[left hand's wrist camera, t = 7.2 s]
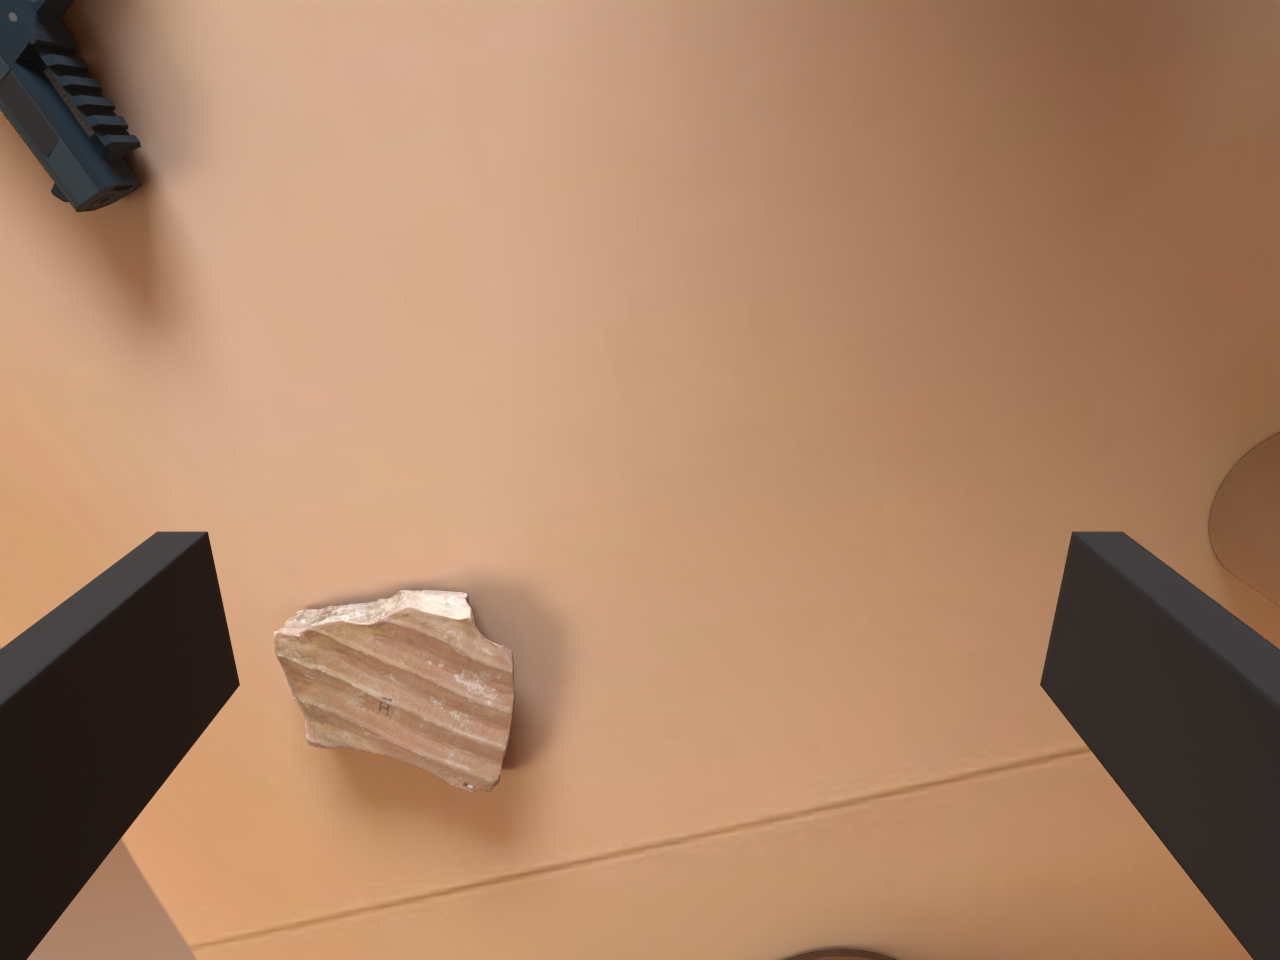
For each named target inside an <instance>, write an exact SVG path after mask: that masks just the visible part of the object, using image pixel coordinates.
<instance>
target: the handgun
mask: <svg viewBox="0 0 1280 960" xmlns="http://www.w3.org/2000/svg"><path fill="white" fill-rule="evenodd" d="M73 1H74V0H0V110H1V111H2V112H3V114H4V115H5V116H6V118H7V119H8V120H9V122H10V123H11V124H12V126H13V127H14V128H15V130H16V131H17V132H18V134H19V135H20V136H21V138H22V139H23V141H24V142H25V143H26V145H27V146H28V147H29V149H30V150H31V151H32V153H33V154H34V155H35V157H36V158H37V159H38V161H39V162H40V163H41V165H42V166H43V167H44V169H45V170H46V171H47V173H48V174H49V175H50V177H51V178H52V179H53V181H54V182H55V184H54V186H53V188H52V190H51V192H52V194H53V195H54V196H56V197H57V198H59V199H60V200H62V201H64V202H70V204H71V205H72V206H73V208H74V209H75V210H76V212H83V211H93V210H96V209H99V208H102V207H105V206H107V205H110V204H112V203H114V202H116V201H117V200H119V199H121V198H122V197H124V196H126V195H127V194H129V193H131V192H132V191H134V190H135V189H137V188H139V187H140V186H142V184H141V183H140V182H139V180H138V179H137V178H136V176H135V175H134V173H133V172H132V171H131V169H130V168H129V166H128V165H127V164H126V162H125V161H124V159H123V157H124V156H125V155H126V153H127V152H128V151H130V150H133V149H136V148H139V147H141V146H140V142H139V140H138V139H137V137H136V136H130V135H129V133H128V132H127V130H126V129H128V124H127V123H126V122H125V120H124V119H123V117H117V116H116V115H115V113H114V112H113V110H115V106H114V104H113V103H112V102H111V100H110V99H109V98H103V96H102V95H101V93H100V92H99V91H102V87H101V86H100V84H99V83H98V81H97V80H96V79H90V78H89V76H88V75H87V72H88V69H89V68H88V67H87V66H86V64H85V63H84V61H83V60H82V59H77V58H76V57H75V56H74V55H73V52H76V51H77V50H78V49H77V46H76V44H75V42H74V41H73V39H72V38H71V36H70V35H69V33H68V31H67V30H66V28H65V27H64V25H63V24H62V22H61V21H60V19H59V18H60V17H61V16H62V15H63V13H64V12H65V11H66V10H67V8H68V7H69V6H70V5H71V4H72V2H73Z"/></svg>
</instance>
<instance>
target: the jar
mask: <svg viewBox="0 0 1280 960" xmlns="http://www.w3.org/2000/svg"><path fill="white" fill-rule="evenodd" d="M1209 535H1210V541H1211V545H1212V548H1213V551H1214V553H1215V555H1216V557H1217V559H1218V560H1219V561H1220V563H1221V564H1222V565H1223V566H1224V567H1225V568H1226V569H1227V570H1228V571H1229V572H1230V573H1231V574H1233V575H1234V576H1236V577H1237V578H1239V579H1240V580H1242V581H1243V582H1244V583H1246V584H1247V585H1249V586H1250V587H1252V588H1253V589H1255V590H1256V591H1258V592H1259V593H1261V594H1262V595H1263V596H1265V597H1266V598H1268V599H1269V600H1271V601H1272V602H1274V603H1275V604H1277V605H1278V606H1280V433H1278V434H1276V435H1274V436H1272V437H1270V438H1268V439H1267V440H1265V441H1263V442H1262V443H1260V444H1259V445H1258V446H1256V447H1255V448H1253V449H1252V450H1251V451H1250V452H1249V453H1247V454H1246V455H1245V456H1244V457H1243V458H1242V459H1241V460H1240V461H1239V462H1238V463H1237V464H1236V465H1235V466H1234V467H1233V469H1232V470H1231V471H1230V473H1229V474H1228V475H1227V476H1226V478H1225V480H1224V481H1223V483H1222V484H1221V486H1220V488H1219V490H1218V492H1217V494H1216V496H1215V499H1214V502H1213V505H1212V508H1211V513H1210V519H1209Z"/></svg>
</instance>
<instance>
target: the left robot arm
mask: <svg viewBox="0 0 1280 960" xmlns="http://www.w3.org/2000/svg"><path fill="white" fill-rule="evenodd" d="M239 685H240V684H239V679H238V674H237V669H236V664H235V660H234V655H233V650H232V645H231V641H230V636H229V631H228V626H227V622H226V617H225V612H224V607H223V602H222V598H221V593H220V588H219V583H218V579H217V574H216V569H215V564H214V559H213V555H212V550H211V545H210V540H209V536H208V532H156V533H155V534H154V535H152V536H151V537H150V538H148V539H147V540H146V541H144V542H143V543H142V544H140V545H139V546H138V547H136V548H135V549H134V550H132V551H131V552H130V553H128V554H127V555H126V556H124V557H123V558H122V559H120V560H119V561H118V562H116V563H115V564H114V565H112V566H111V567H110V568H108V569H107V570H106V571H104V572H103V573H102V574H100V575H99V576H98V577H96V578H95V579H94V580H92V581H91V582H90V583H88V584H87V585H86V586H84V587H83V588H82V589H80V590H79V591H78V592H76V593H75V594H74V595H72V596H71V597H70V598H68V599H67V600H66V601H64V602H63V603H62V604H60V605H59V606H58V607H56V608H55V609H54V610H52V611H51V612H50V613H48V614H47V615H46V616H44V617H43V618H42V619H40V620H39V621H38V622H36V623H35V624H34V625H32V626H31V627H30V628H28V629H27V630H26V631H24V632H23V633H22V634H20V635H19V636H18V637H16V638H15V639H14V640H12V641H11V642H10V643H8V644H7V645H6V646H4V647H3V648H2V649H0V960H27V958H28V957H29V956H30V954H31V953H32V952H33V951H34V949H35V948H36V947H37V945H38V944H39V943H40V942H41V940H42V939H43V938H44V936H45V935H46V934H47V933H48V931H49V930H50V929H51V927H52V926H53V925H54V924H55V922H56V921H57V920H58V918H59V917H60V916H61V915H62V913H63V912H64V911H65V909H66V908H67V907H68V906H69V904H70V903H71V902H72V900H73V899H74V898H75V897H76V895H77V894H78V893H79V891H80V890H81V889H82V888H83V886H84V885H85V884H86V882H87V881H88V880H89V878H90V877H91V876H92V875H93V873H94V872H95V871H96V869H97V868H98V867H99V866H100V864H101V863H102V862H103V860H104V859H105V858H106V857H107V855H108V854H109V853H110V851H111V850H112V849H113V848H114V846H115V845H116V844H117V842H118V841H119V840H120V839H121V837H122V836H123V835H124V833H125V832H126V831H127V830H128V828H129V827H130V826H131V824H132V823H133V822H134V821H135V819H136V818H137V817H138V815H139V814H140V813H141V812H142V810H143V809H144V808H145V806H146V805H147V804H148V803H149V801H150V800H151V799H152V797H153V796H154V795H155V793H156V792H157V791H158V790H159V788H160V787H161V786H162V784H163V783H164V782H165V781H166V779H167V778H168V777H169V775H170V774H171V773H172V772H173V770H174V769H175V768H176V766H177V765H178V764H179V763H180V761H181V760H182V759H183V757H184V756H185V755H186V754H187V752H188V751H189V750H190V748H191V747H192V746H193V745H194V743H195V742H196V741H197V739H198V738H199V737H200V736H201V734H202V733H203V732H204V730H205V729H206V728H207V727H208V725H209V724H210V723H211V721H212V720H213V719H214V717H215V716H216V715H217V714H218V712H219V711H220V710H221V708H222V707H223V706H224V705H225V703H226V702H227V701H228V699H229V698H230V697H231V696H232V694H233V693H234V692H235V690H236V689H237V688H238V687H239ZM1040 685H1041V687H1042V688H1043V689H1044V690H1045V692H1046V693H1047V694H1048V696H1049V697H1050V698H1051V699H1052V701H1053V702H1054V703H1055V705H1056V706H1057V707H1058V708H1059V710H1060V711H1061V712H1062V714H1063V715H1064V716H1065V717H1066V719H1067V720H1068V721H1069V723H1070V724H1071V725H1072V727H1073V728H1074V729H1075V730H1076V732H1077V733H1078V734H1079V736H1080V737H1081V738H1082V739H1083V741H1084V742H1085V743H1086V745H1087V746H1088V747H1089V748H1090V750H1091V751H1092V752H1093V754H1094V755H1095V756H1096V757H1097V759H1098V760H1099V761H1100V763H1101V764H1102V765H1103V766H1104V768H1105V769H1106V770H1107V772H1108V773H1109V774H1110V775H1111V777H1112V778H1113V779H1114V781H1115V782H1116V783H1117V784H1118V786H1119V787H1120V788H1121V790H1122V791H1123V792H1124V793H1125V795H1126V796H1127V797H1128V799H1129V800H1130V801H1131V803H1132V804H1133V805H1134V806H1135V808H1136V809H1137V810H1138V812H1139V813H1140V814H1141V815H1142V817H1143V818H1144V819H1145V821H1146V822H1147V823H1148V824H1149V826H1150V827H1151V828H1152V830H1153V831H1154V832H1155V833H1156V835H1157V836H1158V837H1159V839H1160V840H1161V841H1162V842H1163V844H1164V845H1165V846H1166V848H1167V849H1168V850H1169V851H1170V853H1171V854H1172V855H1173V857H1174V858H1175V859H1176V860H1177V862H1178V863H1179V864H1180V866H1181V867H1182V868H1183V869H1184V871H1185V872H1186V873H1187V875H1188V876H1189V877H1190V879H1191V880H1192V881H1193V882H1194V884H1195V885H1196V886H1197V888H1198V889H1199V890H1200V891H1201V893H1202V894H1203V895H1204V897H1205V898H1206V899H1207V900H1208V902H1209V903H1210V904H1211V906H1212V907H1213V908H1214V909H1215V911H1216V912H1217V913H1218V915H1219V916H1220V917H1221V918H1222V920H1223V921H1224V922H1225V924H1226V925H1227V926H1228V927H1229V929H1230V930H1231V931H1232V933H1233V934H1234V935H1235V936H1236V938H1237V939H1238V940H1239V942H1240V943H1241V944H1242V945H1243V947H1244V948H1245V949H1246V951H1247V952H1248V953H1249V954H1250V956H1251V957H1252V958H1253V960H1280V649H1278V648H1277V647H1276V646H1274V645H1273V644H1272V643H1270V642H1269V641H1268V640H1266V639H1265V638H1264V637H1262V636H1261V635H1260V634H1258V633H1257V632H1256V631H1254V630H1253V629H1252V628H1250V627H1249V626H1248V625H1246V624H1245V623H1244V622H1242V621H1241V620H1240V619H1238V618H1237V617H1236V616H1234V615H1233V614H1232V613H1230V612H1229V611H1228V610H1226V609H1225V608H1224V607H1222V606H1221V605H1220V604H1218V603H1217V602H1216V601H1214V600H1213V599H1212V598H1210V597H1209V596H1208V595H1206V594H1205V593H1204V592H1202V591H1201V590H1200V589H1198V588H1197V587H1196V586H1194V585H1193V584H1192V583H1190V582H1189V581H1188V580H1186V579H1185V578H1184V577H1182V576H1181V575H1180V574H1178V573H1177V572H1176V571H1174V570H1173V569H1172V568H1170V567H1169V566H1168V565H1166V564H1165V563H1164V562H1162V561H1161V560H1160V559H1158V558H1157V557H1156V556H1154V555H1153V554H1152V553H1150V552H1149V551H1148V550H1146V549H1145V548H1144V547H1142V546H1141V545H1140V544H1138V543H1137V542H1136V541H1134V540H1133V539H1132V538H1130V537H1129V536H1128V535H1126V534H1125V533H1124V532H1072V536H1071V540H1070V545H1069V550H1068V555H1067V559H1066V564H1065V569H1064V574H1063V579H1062V583H1061V588H1060V593H1059V598H1058V602H1057V607H1056V612H1055V617H1054V622H1053V626H1052V631H1051V636H1050V641H1049V645H1048V650H1047V655H1046V660H1045V664H1044V669H1043V674H1042V679H1041V684H1040ZM786 960H896V959H893V958H891V957H888V956H885V955H881V954H877V953H873V952H867V951H860V950H845V949H840V950H824V951H817V952H811V953H807V954H803V955H799V956H795V957H792V958H789V959H786Z"/></svg>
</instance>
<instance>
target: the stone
mask: <svg viewBox="0 0 1280 960" xmlns="http://www.w3.org/2000/svg"><path fill="white" fill-rule="evenodd" d="M274 644H275V653H276V656H277V659H278V661H279V662H280V664H281V666H282V668H283V670H284V673H285V676H286V679H287V681H288V684H289V686H290V688H291V691H292V694H293V697H294V699H295V700H296V702H297V704H298V705H299V707H300V709H301V711H302V713H303V714H304V717H305V728H306V734H307V744H308V745H309V746H314V747H318V748H350V749H354V750H361V751H365V752H368V753H372V754H382V755H386V756H389V757H392V758H394V759H397V760H400V761H403V762H405V763H408V764H410V765H413V766H415V767H418V768H420V769H423V770H425V771H428V772H430V773H432V774H434V775H435V776H437V777H439V778H441V779H443V780H445V781H446V782H447V783H449V784H451V785H454V786H456V787H459V788H461V789H464V790H466V791H469V792H474V791H476V790H478V789H481V790H484V791H488V792H491V791H492V789H493V786H496V785H497V784H498V783H499V781H500V771H501V767H502V764H503V758H504V756H505V754H506V751H507V749H508V743H509V739H510V724H511V721H512V713H513V709H514V697H515V692H514V688H513V687H514V684H513V676H514V663H513V653H512V651H510V650H509V649H508V648H506V647H505V646H504V645H499V644H496V643H493V642H492V641H490V640H487V639H486V638H485V637H484V636H483V635H482V634H481V633H480V632H479V631H478V629H477V627H476V625H475V618H474V614H473V611H472V609H471V607H470V606H469V597H468V594H467V593H463V592H452V591H438V590H421V591H418V590H415V591H412V590H401V591H398V592H397V593H396V594H395V595H394V596H392V597H390V598H384V599H378V600H376V601H374V602H367V603H358V604H348V605H341V606H328V607H325V608H322V609H319V610H317V609H305V610H300V611H298V612H297V616H295V617H292V618H289V619H288V620H287V621H286V622H285V625H284V627H283V628H282V629H280V630H278V631H276V632H275V634H274Z"/></svg>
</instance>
